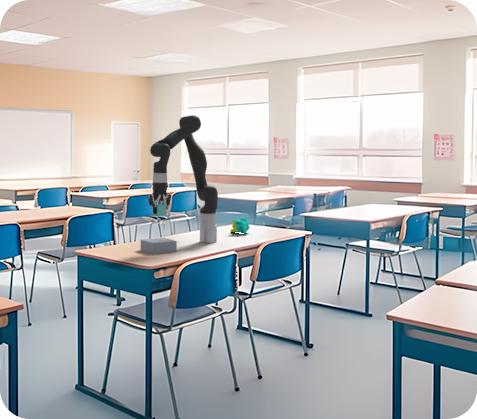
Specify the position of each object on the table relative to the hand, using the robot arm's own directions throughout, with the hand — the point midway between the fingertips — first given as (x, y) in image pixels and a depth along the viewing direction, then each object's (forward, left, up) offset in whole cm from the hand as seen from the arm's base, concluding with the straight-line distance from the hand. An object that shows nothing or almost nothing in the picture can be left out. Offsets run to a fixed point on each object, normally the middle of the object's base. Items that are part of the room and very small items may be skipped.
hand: (159, 213), depth 283 cm
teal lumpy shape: (-80, -23, -20) cm, 86 cm away
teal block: (0, 0, -1) cm, 1 cm away
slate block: (0, 0, -20) cm, 20 cm away
